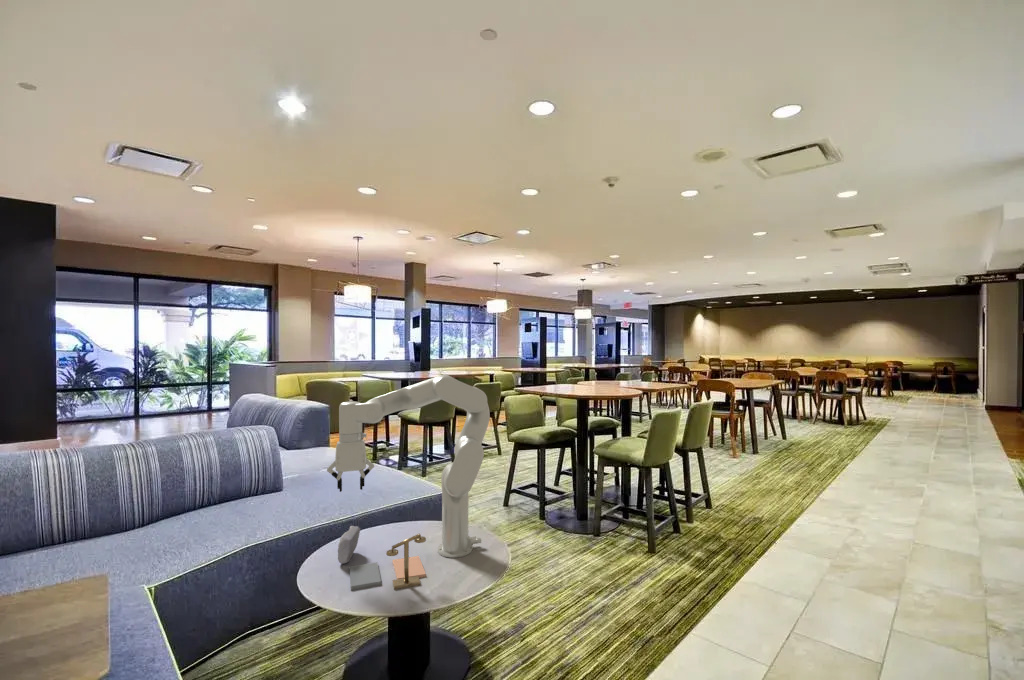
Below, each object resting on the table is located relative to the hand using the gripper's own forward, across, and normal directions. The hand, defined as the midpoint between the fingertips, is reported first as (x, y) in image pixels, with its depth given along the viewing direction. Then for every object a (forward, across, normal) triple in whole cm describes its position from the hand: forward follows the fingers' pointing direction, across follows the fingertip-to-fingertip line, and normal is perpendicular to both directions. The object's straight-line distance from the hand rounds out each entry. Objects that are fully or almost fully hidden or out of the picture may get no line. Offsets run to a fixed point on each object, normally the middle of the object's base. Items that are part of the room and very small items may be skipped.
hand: (351, 489), depth 165 cm
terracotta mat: (+25, -18, +12) cm, 33 cm away
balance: (+25, -16, +22) cm, 37 cm away
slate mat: (+25, -4, +12) cm, 29 cm away
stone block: (+26, 0, -3) cm, 26 cm away
